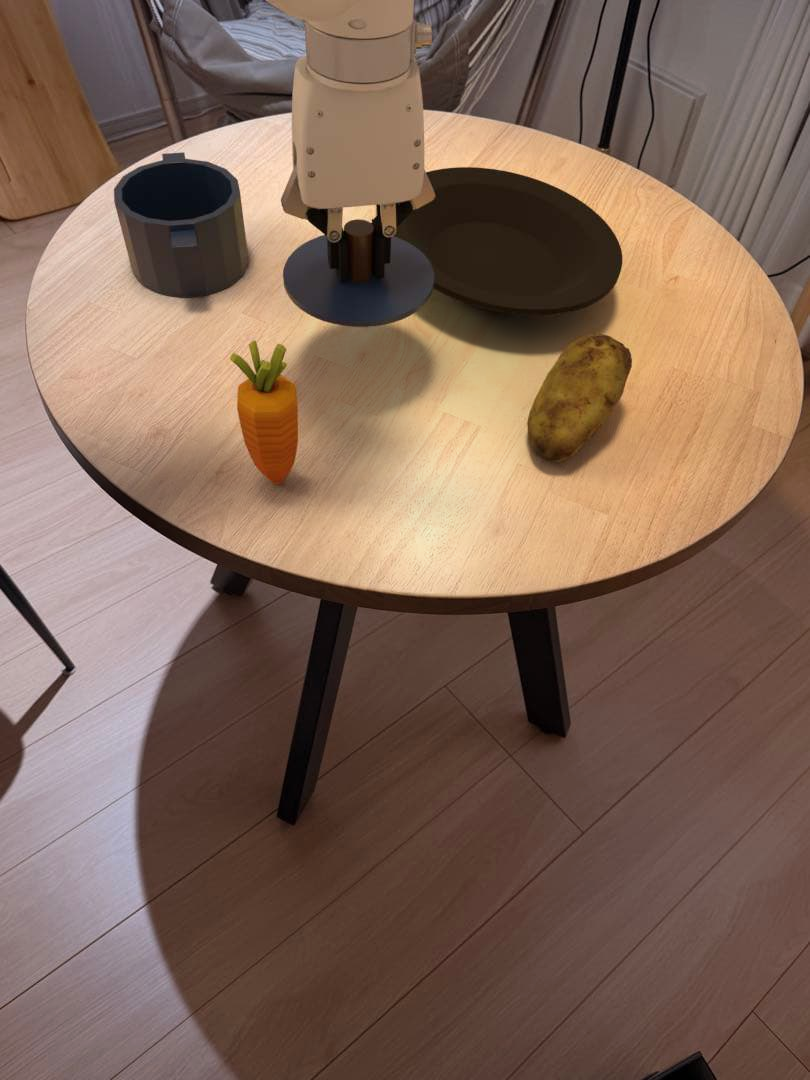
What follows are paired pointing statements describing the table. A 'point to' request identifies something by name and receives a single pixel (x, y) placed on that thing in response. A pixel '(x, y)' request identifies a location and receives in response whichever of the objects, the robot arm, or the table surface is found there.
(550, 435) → the potato
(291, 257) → the lid
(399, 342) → the table surface
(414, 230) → the plate
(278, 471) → the carrot
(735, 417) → the table surface
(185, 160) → the pot
